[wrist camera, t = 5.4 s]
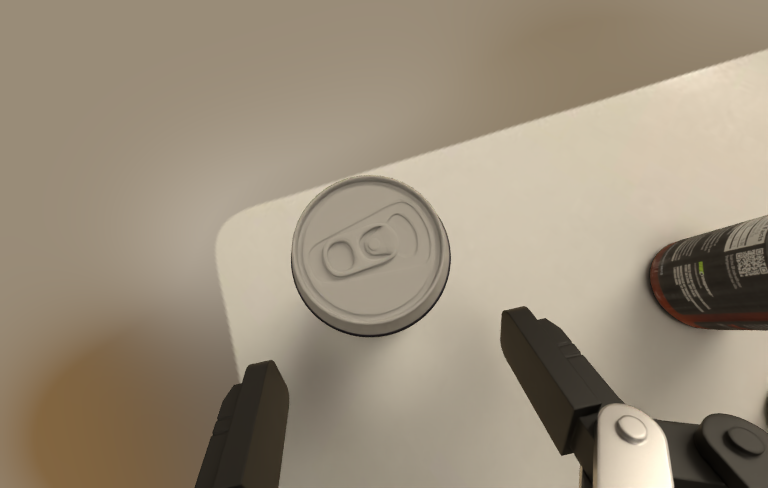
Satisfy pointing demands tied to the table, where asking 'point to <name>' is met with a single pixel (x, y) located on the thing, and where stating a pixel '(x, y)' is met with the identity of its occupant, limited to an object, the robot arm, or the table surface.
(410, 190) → the beverage can
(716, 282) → the supplement bottle
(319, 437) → the table surface
